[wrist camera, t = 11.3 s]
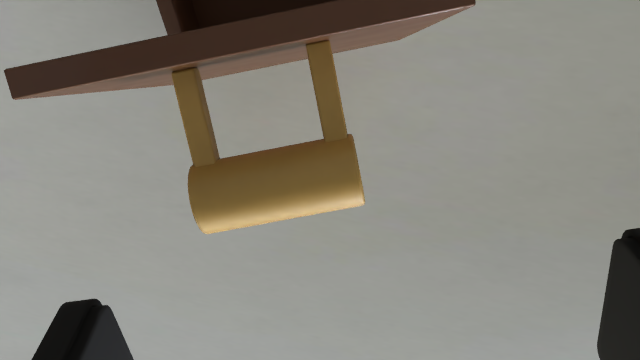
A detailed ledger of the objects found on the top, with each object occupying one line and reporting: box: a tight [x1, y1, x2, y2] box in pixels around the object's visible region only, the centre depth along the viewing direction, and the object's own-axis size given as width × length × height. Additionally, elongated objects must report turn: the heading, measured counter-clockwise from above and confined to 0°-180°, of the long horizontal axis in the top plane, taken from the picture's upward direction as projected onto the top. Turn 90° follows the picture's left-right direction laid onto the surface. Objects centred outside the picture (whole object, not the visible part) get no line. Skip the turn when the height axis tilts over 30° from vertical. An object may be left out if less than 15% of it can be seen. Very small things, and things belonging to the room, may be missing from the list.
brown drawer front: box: [4, 0, 475, 234], centre depth 22 cm, size 16×12×6 cm
